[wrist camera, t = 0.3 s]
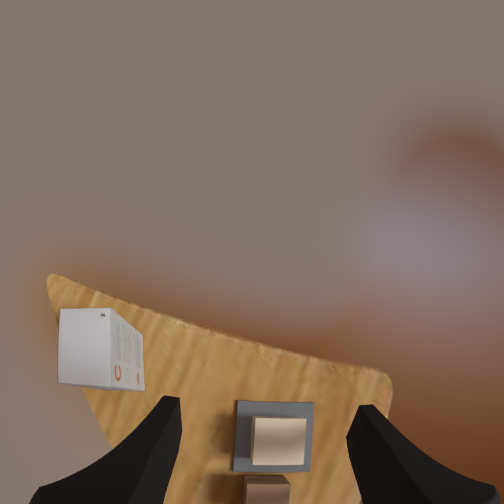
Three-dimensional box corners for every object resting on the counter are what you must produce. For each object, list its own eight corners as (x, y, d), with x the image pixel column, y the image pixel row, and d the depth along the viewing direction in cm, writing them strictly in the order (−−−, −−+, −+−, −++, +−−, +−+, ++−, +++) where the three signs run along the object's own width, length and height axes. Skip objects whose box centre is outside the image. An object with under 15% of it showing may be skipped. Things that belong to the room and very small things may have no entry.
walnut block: (280, 505, 30) (287, 518, 25) (242, 505, 30) (244, 518, 25) (282, 474, 32) (290, 484, 28) (244, 474, 32) (247, 484, 27)
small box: (101, 334, 39) (59, 306, 27) (143, 334, 39) (112, 305, 28) (102, 391, 35) (56, 383, 23) (145, 392, 36) (112, 387, 24)
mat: (309, 470, 32) (309, 471, 32) (233, 470, 32) (233, 471, 32) (313, 402, 37) (313, 402, 37) (237, 400, 37) (237, 400, 36)
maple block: (296, 458, 33) (303, 464, 29) (249, 458, 33) (252, 464, 29) (298, 416, 36) (306, 418, 32) (252, 415, 35) (255, 417, 32)
